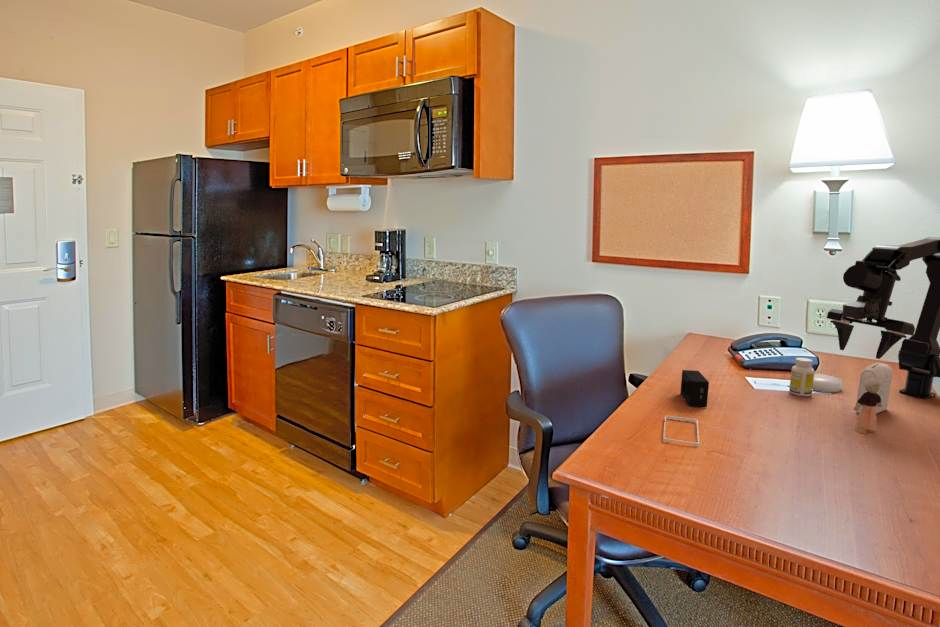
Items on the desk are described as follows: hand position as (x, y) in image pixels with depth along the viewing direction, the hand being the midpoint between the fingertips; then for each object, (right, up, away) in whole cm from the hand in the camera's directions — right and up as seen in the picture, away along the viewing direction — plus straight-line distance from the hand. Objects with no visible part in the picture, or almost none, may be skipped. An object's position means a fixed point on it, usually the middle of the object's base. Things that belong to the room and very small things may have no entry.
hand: (859, 354), depth 144 cm
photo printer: (+2, -15, -1) cm, 15 cm away
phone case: (-51, -17, -16) cm, 57 cm away
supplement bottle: (-8, -12, +12) cm, 19 cm away
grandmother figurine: (-8, -17, -14) cm, 23 cm away
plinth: (+1, -11, +18) cm, 21 cm away
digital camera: (-41, -13, +5) cm, 43 cm away
